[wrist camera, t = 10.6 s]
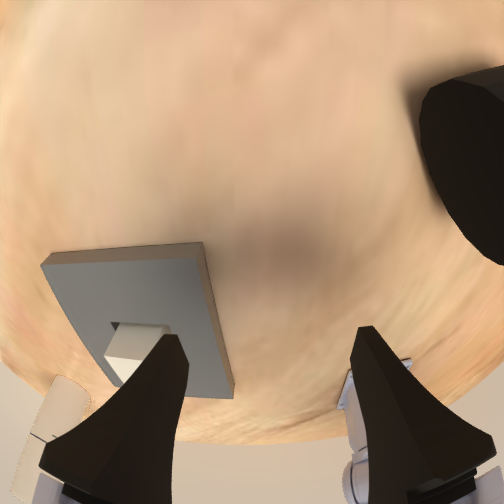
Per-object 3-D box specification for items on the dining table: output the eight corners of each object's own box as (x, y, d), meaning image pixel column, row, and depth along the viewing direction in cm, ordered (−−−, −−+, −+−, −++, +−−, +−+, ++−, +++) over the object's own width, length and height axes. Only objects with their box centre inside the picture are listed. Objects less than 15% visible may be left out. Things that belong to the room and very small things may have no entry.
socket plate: (234, 384, 28) (233, 399, 26) (119, 374, 29) (114, 386, 27) (201, 242, 19) (195, 257, 17) (51, 253, 20) (40, 265, 18)
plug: (186, 357, 26) (175, 402, 21) (148, 354, 26) (134, 396, 21) (168, 312, 23) (150, 361, 18) (126, 311, 23) (103, 355, 18)
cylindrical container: (54, 369, 32) (4, 490, 10) (90, 390, 33) (49, 517, 12) (57, 384, 35) (16, 491, 14) (90, 403, 37) (54, 513, 15)
